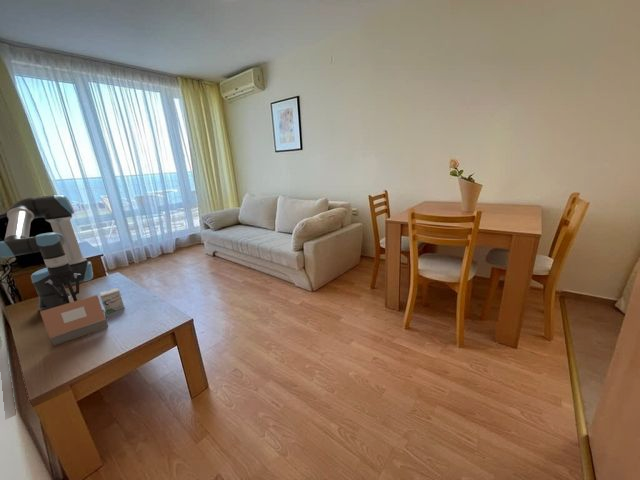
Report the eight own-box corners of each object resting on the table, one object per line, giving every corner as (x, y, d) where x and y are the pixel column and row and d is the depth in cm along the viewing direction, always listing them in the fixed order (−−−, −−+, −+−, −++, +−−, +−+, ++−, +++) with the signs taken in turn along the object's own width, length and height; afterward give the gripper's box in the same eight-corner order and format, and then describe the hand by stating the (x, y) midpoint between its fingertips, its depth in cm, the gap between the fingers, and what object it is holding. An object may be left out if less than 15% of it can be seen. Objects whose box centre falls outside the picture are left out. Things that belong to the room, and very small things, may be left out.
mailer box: (55, 333, 128) (52, 326, 127) (106, 316, 141) (103, 309, 139) (54, 346, 119) (50, 338, 117) (108, 326, 131) (105, 319, 130)
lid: (40, 311, 115) (39, 311, 114) (97, 294, 128) (97, 295, 127) (50, 337, 117) (49, 338, 116) (105, 318, 130) (105, 319, 129)
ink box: (106, 314, 143) (100, 295, 139) (105, 311, 146) (99, 292, 143) (124, 307, 149) (119, 289, 145) (123, 304, 152) (117, 287, 148)
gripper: (37, 271, 115) (56, 316, 122) (76, 262, 123) (91, 305, 130) (39, 266, 120) (57, 310, 127) (76, 259, 128) (91, 300, 135)
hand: (74, 307), depth 129 cm, fingers closed
